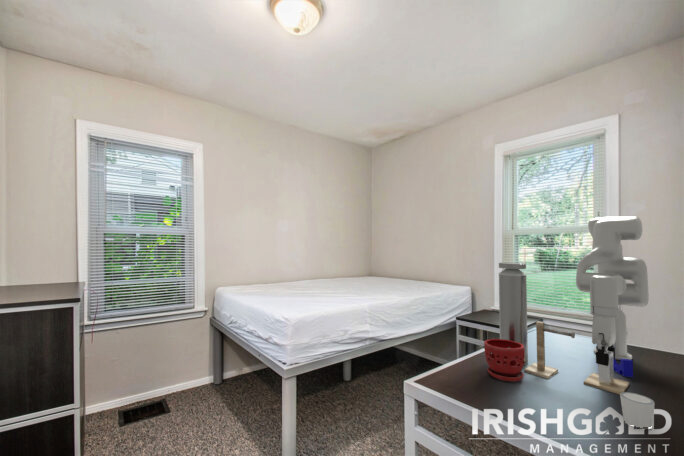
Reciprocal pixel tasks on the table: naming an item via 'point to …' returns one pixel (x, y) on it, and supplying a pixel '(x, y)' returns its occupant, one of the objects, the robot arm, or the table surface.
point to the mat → (615, 386)
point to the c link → (607, 370)
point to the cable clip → (624, 367)
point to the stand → (543, 353)
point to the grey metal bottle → (513, 304)
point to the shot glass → (637, 409)
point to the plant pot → (505, 359)
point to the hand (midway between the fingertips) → (605, 361)
